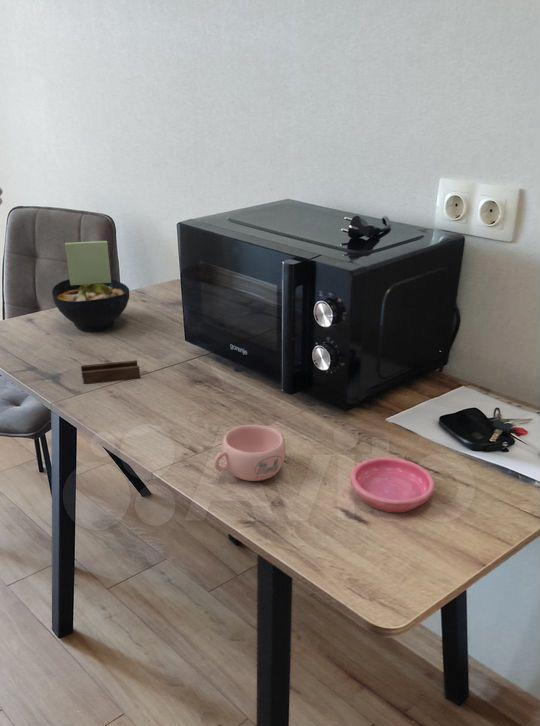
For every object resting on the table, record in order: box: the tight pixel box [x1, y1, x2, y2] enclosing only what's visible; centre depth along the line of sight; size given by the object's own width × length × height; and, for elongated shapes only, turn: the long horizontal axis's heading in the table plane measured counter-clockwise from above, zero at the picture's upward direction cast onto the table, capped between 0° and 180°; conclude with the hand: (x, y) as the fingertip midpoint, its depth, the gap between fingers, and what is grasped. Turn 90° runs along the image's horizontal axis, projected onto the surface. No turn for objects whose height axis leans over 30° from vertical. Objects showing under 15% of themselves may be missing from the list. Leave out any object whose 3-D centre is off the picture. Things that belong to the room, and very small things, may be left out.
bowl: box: [51, 278, 130, 333], centre depth 161 cm, size 17×17×10 cm
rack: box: [80, 359, 141, 385], centre depth 139 cm, size 11×4×2 cm, turn 107°
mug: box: [213, 424, 287, 482], centre depth 109 cm, size 12×10×6 cm
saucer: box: [350, 456, 436, 513], centre depth 106 cm, size 12×12×3 cm
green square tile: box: [64, 240, 112, 285], centre depth 156 cm, size 9×1×9 cm, turn 107°
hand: (0, 199), depth 140 cm, fingers open, 8 cm apart
